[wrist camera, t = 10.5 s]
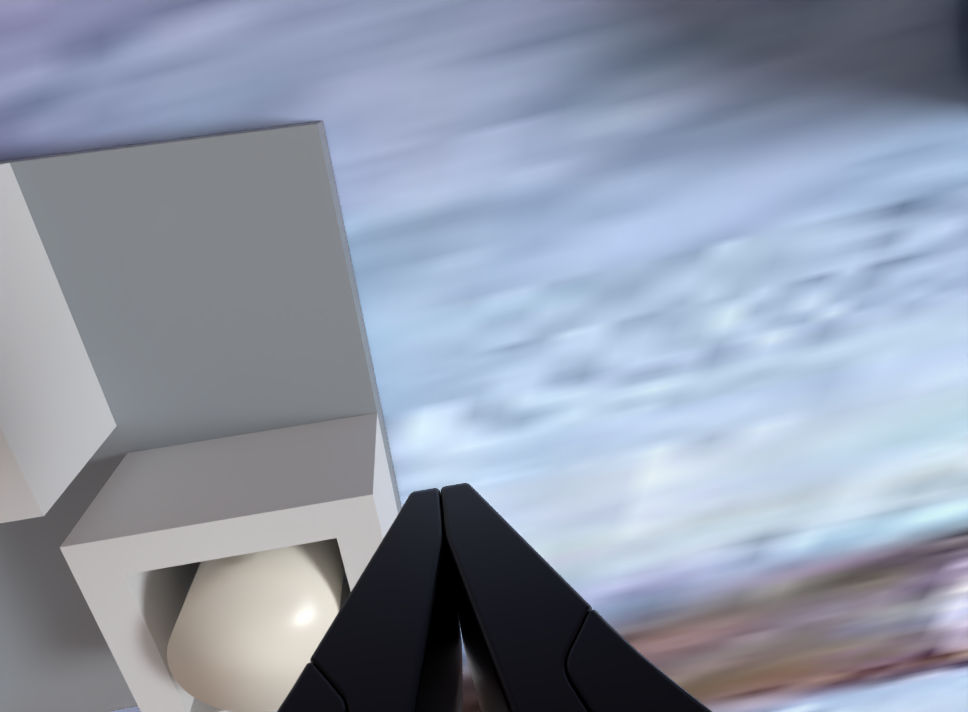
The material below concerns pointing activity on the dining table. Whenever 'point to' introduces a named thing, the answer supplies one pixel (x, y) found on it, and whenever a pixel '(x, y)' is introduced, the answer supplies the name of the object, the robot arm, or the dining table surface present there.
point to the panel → (171, 399)
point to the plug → (255, 624)
